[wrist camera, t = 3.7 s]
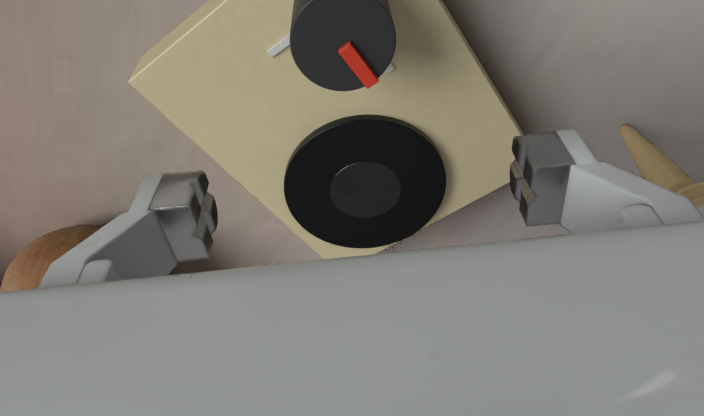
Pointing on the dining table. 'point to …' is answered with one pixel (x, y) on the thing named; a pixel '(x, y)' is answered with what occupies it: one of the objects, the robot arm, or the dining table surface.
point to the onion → (42, 257)
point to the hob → (325, 99)
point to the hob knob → (342, 41)
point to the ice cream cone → (661, 168)
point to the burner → (364, 181)
